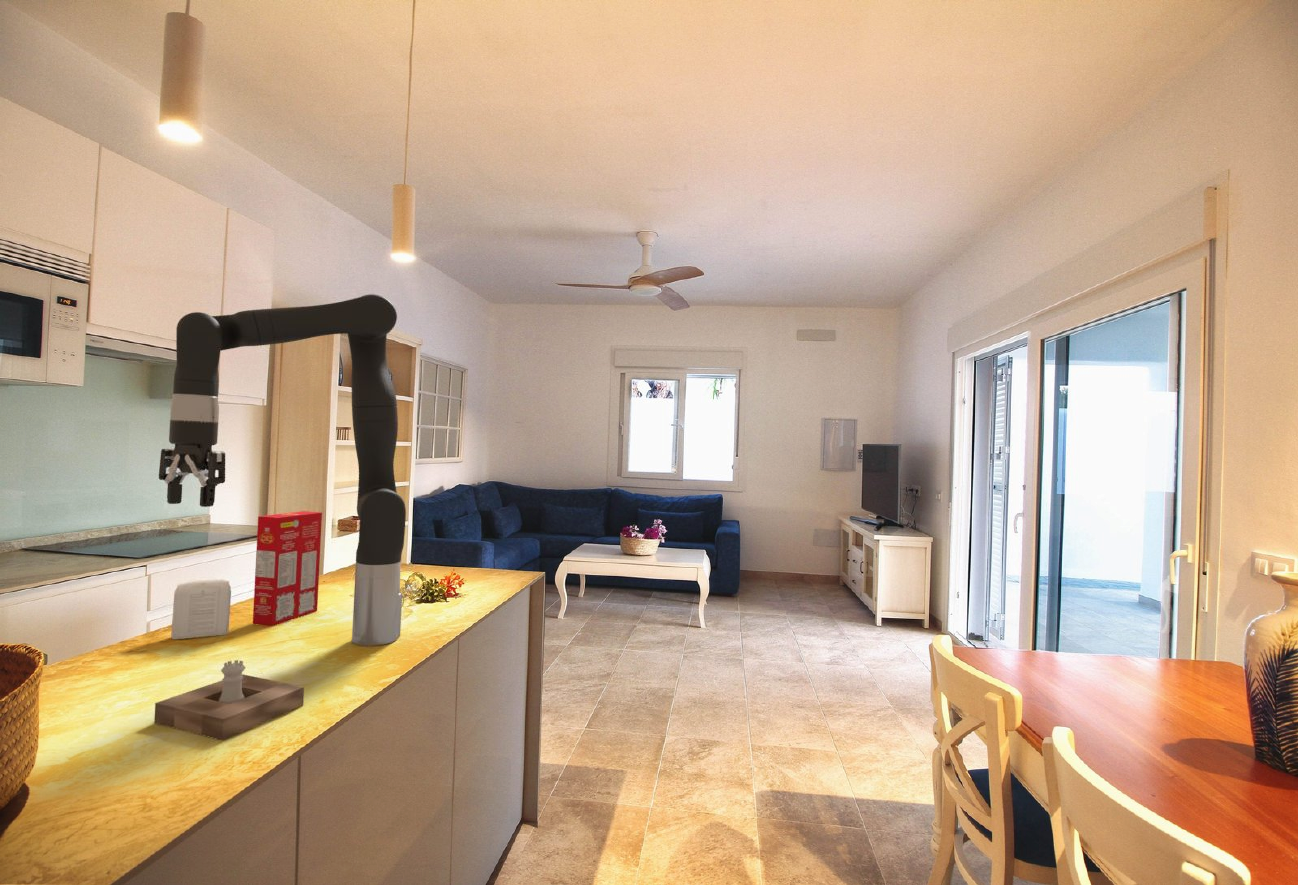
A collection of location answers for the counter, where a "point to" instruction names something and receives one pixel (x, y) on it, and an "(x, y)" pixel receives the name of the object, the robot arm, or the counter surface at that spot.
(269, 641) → the counter surface
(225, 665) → the rook chess piece
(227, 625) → the photo printer
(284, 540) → the food packaging
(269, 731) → the counter surface
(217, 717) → the socket board
